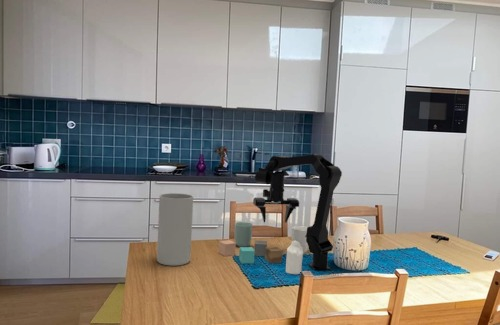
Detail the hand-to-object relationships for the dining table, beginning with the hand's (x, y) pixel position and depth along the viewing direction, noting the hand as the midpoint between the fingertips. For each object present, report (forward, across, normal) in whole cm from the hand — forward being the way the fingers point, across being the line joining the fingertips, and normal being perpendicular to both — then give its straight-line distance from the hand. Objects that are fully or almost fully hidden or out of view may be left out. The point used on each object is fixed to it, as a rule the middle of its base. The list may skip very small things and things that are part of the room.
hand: (275, 222), depth 168 cm
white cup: (+14, -13, -4) cm, 19 cm away
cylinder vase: (+13, +42, +10) cm, 45 cm away
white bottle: (+14, -2, +23) cm, 27 cm away
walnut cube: (+13, +2, +10) cm, 17 cm away
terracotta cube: (+13, +20, +1) cm, 24 cm away
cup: (+13, +11, -10) cm, 20 cm away
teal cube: (+13, +14, +11) cm, 22 cm away
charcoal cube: (+13, +6, +1) cm, 15 cm away
